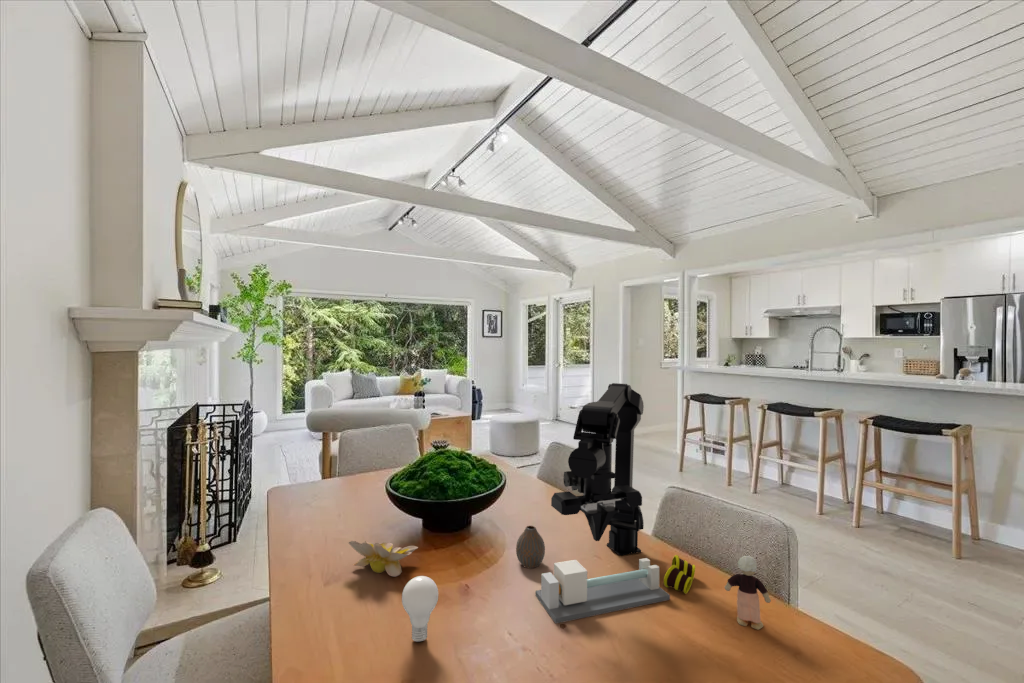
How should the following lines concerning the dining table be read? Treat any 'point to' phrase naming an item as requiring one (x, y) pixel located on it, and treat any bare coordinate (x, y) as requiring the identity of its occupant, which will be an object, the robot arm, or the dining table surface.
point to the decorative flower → (381, 556)
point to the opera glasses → (679, 575)
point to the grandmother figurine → (748, 593)
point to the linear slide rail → (604, 593)
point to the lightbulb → (419, 604)
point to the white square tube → (571, 581)
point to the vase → (530, 548)
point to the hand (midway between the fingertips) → (596, 540)
